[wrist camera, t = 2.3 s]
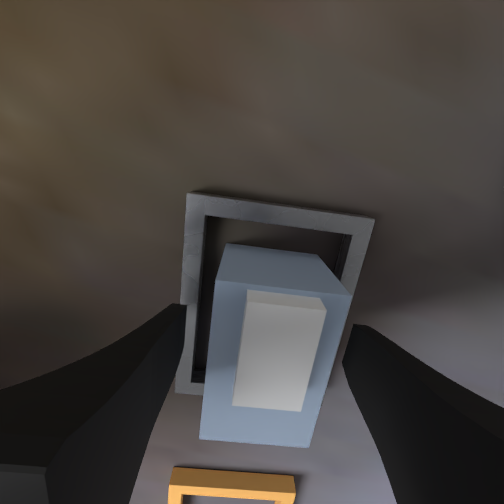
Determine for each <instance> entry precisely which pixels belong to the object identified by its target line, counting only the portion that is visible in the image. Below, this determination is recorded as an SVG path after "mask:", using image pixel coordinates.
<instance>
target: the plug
mask: <svg viewBox="0 0 504 504" xmlns="http://www.w3.org/2000/svg"><path fill="white" fill-rule="evenodd" d="M351 298H352V296H351V294H350V293H349V292H348V291H347V290H346V288H345V287H344V286H343V285H342V284H341V282H340V281H339V280H338V279H337V278H336V276H335V275H334V274H333V273H332V272H331V270H330V269H329V268H328V267H327V266H326V264H325V263H324V262H323V261H322V260H321V259H320V257H319V256H318V255H317V254H309V253H301V252H293V251H286V250H278V249H270V248H262V247H254V246H246V245H238V244H231V243H226V245H225V249H224V252H223V256H222V259H221V263H220V266H219V270H218V273H217V276H216V280H215V289H214V299H213V309H212V318H211V328H210V338H209V347H208V357H207V366H206V376H205V386H204V395H203V405H202V415H201V424H200V434H199V439H204V440H217V441H229V442H241V443H253V444H266V445H278V446H290V447H302V448H309V445H310V441H311V438H312V434H313V431H314V427H315V424H316V420H317V417H318V413H319V410H320V407H321V403H322V400H323V396H324V393H325V389H326V386H327V382H328V379H329V375H330V372H331V368H332V365H333V361H334V358H335V354H336V351H337V347H338V344H339V340H340V337H341V333H342V330H343V326H344V323H345V319H346V316H347V312H348V309H349V305H350V302H351Z"/></svg>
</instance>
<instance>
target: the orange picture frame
mask: <svg viewBox="0 0 504 504" xmlns="http://www.w3.org/2000/svg"><path fill="white" fill-rule="evenodd" d="M183 494H187V495H202V496H217V497H232V498H247V499H262V500H275V503H274V504H293V502H294V499H295V495H296V490H295V484H294V477H293V476H289V475H275V474H262V473H248V472H234V471H220V470H207V469H193V468H179V467H173V471H172V475H171V479H170V483H169V495H168V504H183Z"/></svg>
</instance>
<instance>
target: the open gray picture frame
mask: <svg viewBox="0 0 504 504" xmlns="http://www.w3.org/2000/svg"><path fill="white" fill-rule="evenodd" d="M208 215H209V216H216V217H224V218H231V219H239V220H246V221H254V222H261V223H268V224H276V225H283V226H291V227H298V228H306V229H313V230H320V231H328V232H335V233H343V238H342V241H341V245H340V249H339V253H338V257H337V261H336V265H335V269H334V273H333V274H334V275H335V276H336V278H337V279H338V280H339V281H340V282H341V284H342V285H343V286H344V287H345V288H346V290H347V291H348V292H349V293H350V294H351V296H352V298H351V302H352V299H353V295H354V292H355V288H356V285H357V282H358V278H359V275H360V271H361V268H362V264H363V261H364V257H365V254H366V250H367V247H368V244H369V240H370V237H371V233H372V230H373V226H374V223H375V219H373V218H370V217H368V216H365V215H358V214H351V213H344V212H337V211H329V210H322V209H315V208H308V207H301V206H294V205H287V204H279V203H272V202H265V201H258V200H251V199H244V198H237V197H229V196H222V195H215V194H208V193H201V192H194V191H191V192H189V193H187V199H186V216H185V232H184V249H183V265H182V282H181V298H180V304H183V305H187V314H186V328H185V342H184V349H183V352H182V356H181V359H180V363H179V366H178V369H177V372H176V380H175V393H181V394H192V395H204V386H205V376H206V370H204V369H194V367H195V355H196V344H197V332H198V321H199V310H200V298H201V287H202V275H203V264H204V253H205V241H206V230H207V218H208ZM351 302H350V305H349V309H350V306H351ZM349 309H348V312H347V316H348V313H349ZM347 316H346V319H347ZM346 319H345V323H346ZM345 323H344V326H345ZM344 326H343V330H344ZM343 330H342V333H343ZM342 333H341V337H342ZM341 337H340V340H341ZM340 340H339V344H340ZM339 344H338V347H339ZM338 347H337V350H338ZM336 354H337V351H336ZM336 354H335V357H336ZM334 361H335V358H334ZM334 361H333V364H334ZM332 368H333V365H332ZM332 368H331V371H332ZM330 375H331V372H330ZM330 375H329V378H330ZM328 382H329V379H328ZM328 382H327V385H328ZM326 388H327V386H326ZM325 392H326V389H325ZM324 395H325V393H324ZM323 399H324V396H323ZM322 402H323V400H322ZM321 406H322V403H321Z"/></svg>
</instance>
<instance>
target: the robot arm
mask: <svg viewBox="0 0 504 504" xmlns="http://www.w3.org/2000/svg"><path fill="white" fill-rule="evenodd" d="M186 314H187V305H183V304H174V303H172V304H171V305H169V306H168V307H167V308H165V309H164V310H163V311H161V312H160V313H158V314H157V315H156V316H154V317H153V318H152V319H150V320H149V321H147V322H146V323H144V324H143V325H142V326H140V327H139V328H137V329H136V330H134V331H132V332H131V333H129V334H128V335H126V336H124V337H123V338H121V339H120V340H118V341H116V342H114V343H113V344H111V345H109V346H107V347H105V348H103V349H101V350H99V351H97V352H95V353H93V354H91V355H89V356H87V357H85V358H83V359H80V360H78V361H76V362H74V363H71V364H69V365H67V366H64V367H62V368H60V369H58V370H55V371H53V372H50V373H47V374H45V375H42V376H39V377H37V378H34V379H31V380H28V381H25V382H23V383H20V384H17V385H14V386H11V387H8V388H5V389H2V390H0V504H129V501H130V498H131V495H132V492H133V488H134V485H135V482H136V479H137V476H138V472H139V469H140V466H141V463H142V460H143V457H144V453H145V450H146V447H147V444H148V441H149V438H150V435H151V432H152V430H153V427H154V424H155V422H156V419H157V417H158V415H159V412H160V410H161V407H162V405H163V403H164V400H165V398H166V396H167V393H168V391H169V388H170V386H171V384H172V381H173V379H174V376H175V374H176V372H177V369H178V366H179V363H180V359H181V356H182V352H183V349H184V342H185V328H186ZM342 364H343V368H344V371H345V375H346V378H347V381H348V384H349V387H350V389H351V391H352V394H353V396H354V398H355V400H356V402H357V405H358V407H359V409H360V411H361V413H362V415H363V418H364V420H365V422H366V424H367V426H368V428H369V431H370V433H371V435H372V437H373V439H374V441H375V444H376V446H377V449H378V451H379V453H380V456H381V459H382V462H383V464H384V467H385V470H386V473H387V476H388V478H389V481H390V484H391V487H392V490H393V493H394V496H395V499H396V502H397V504H504V408H502V407H500V406H498V405H496V404H494V403H492V402H490V401H488V400H486V399H485V398H483V397H481V396H479V395H477V394H475V393H473V392H472V391H470V390H468V389H466V388H464V387H463V386H461V385H459V384H457V383H456V382H454V381H452V380H450V379H449V378H447V377H445V376H444V375H442V374H441V373H439V372H437V371H436V370H434V369H433V368H431V367H429V366H428V365H426V364H425V363H423V362H422V361H420V360H419V359H417V358H416V357H414V356H413V355H411V354H410V353H408V352H407V351H405V350H404V349H402V348H401V347H400V346H398V345H397V344H395V343H394V342H392V341H391V340H389V339H388V338H386V337H385V336H383V335H382V334H380V333H379V332H377V331H376V330H374V329H372V328H371V327H369V326H366V325H357V324H353V328H352V331H351V334H350V338H349V341H348V344H347V348H346V351H345V354H344V357H343V361H342Z"/></svg>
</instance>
